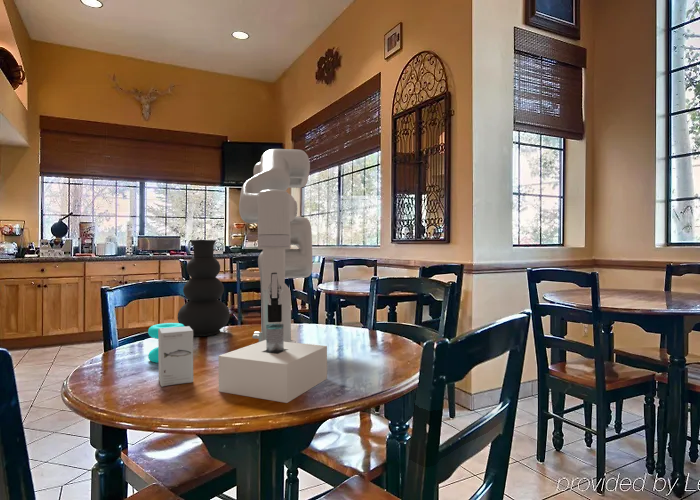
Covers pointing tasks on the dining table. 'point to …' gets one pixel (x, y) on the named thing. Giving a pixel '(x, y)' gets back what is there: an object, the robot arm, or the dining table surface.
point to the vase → (203, 292)
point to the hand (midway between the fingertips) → (274, 321)
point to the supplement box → (175, 355)
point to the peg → (274, 338)
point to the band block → (272, 371)
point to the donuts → (153, 333)
